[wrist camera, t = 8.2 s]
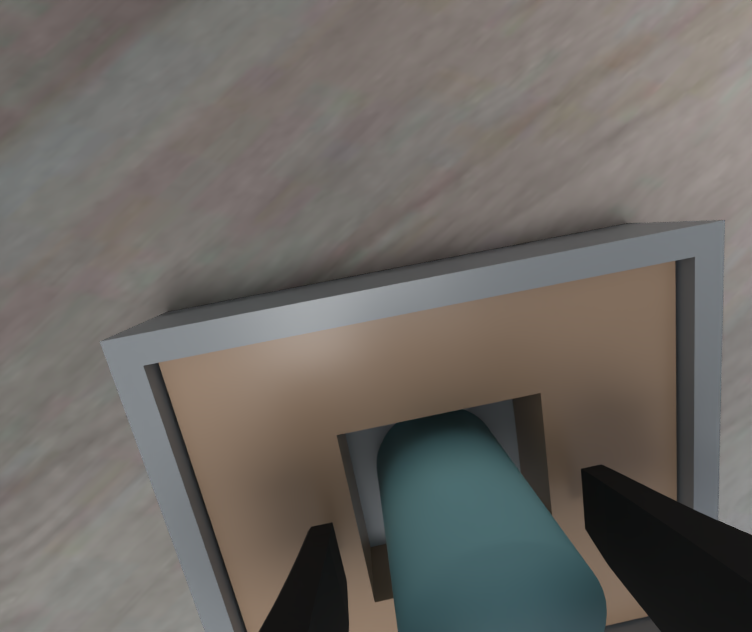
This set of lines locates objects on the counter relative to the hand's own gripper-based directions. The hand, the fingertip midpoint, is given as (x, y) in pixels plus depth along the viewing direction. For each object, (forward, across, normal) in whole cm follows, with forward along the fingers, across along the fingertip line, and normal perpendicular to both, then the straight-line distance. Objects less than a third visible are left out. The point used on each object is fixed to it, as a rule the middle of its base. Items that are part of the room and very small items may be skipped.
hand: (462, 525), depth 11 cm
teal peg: (+3, 0, 0) cm, 3 cm away
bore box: (+4, 0, 0) cm, 4 cm away
